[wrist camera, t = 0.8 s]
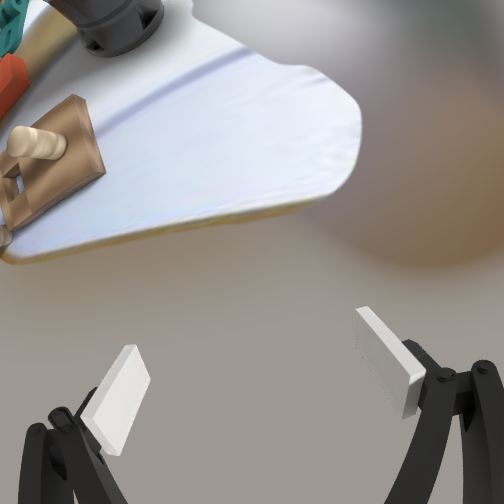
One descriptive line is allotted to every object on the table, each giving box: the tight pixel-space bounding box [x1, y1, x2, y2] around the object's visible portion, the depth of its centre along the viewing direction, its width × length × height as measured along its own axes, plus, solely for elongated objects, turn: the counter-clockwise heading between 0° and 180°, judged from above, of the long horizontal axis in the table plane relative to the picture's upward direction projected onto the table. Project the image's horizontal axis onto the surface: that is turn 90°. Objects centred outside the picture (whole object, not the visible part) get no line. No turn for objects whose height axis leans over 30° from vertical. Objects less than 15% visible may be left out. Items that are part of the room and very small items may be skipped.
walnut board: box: [0, 94, 106, 232], centre depth 30 cm, size 14×22×14 cm, turn 111°
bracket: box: [0, 0, 29, 58], centre depth 25 cm, size 18×7×8 cm, turn 13°
